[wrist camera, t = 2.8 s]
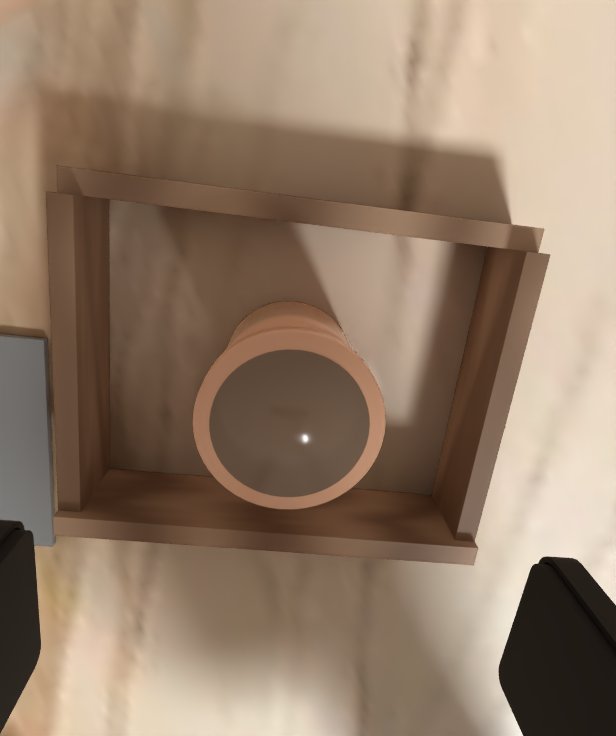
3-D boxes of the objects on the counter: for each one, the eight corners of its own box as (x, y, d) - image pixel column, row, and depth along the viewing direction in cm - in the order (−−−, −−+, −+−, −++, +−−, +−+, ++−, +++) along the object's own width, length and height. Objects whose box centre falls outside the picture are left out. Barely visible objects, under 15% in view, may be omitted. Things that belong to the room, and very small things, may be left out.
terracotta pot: (365, 303, 24) (401, 344, 17) (345, 430, 26) (370, 517, 19) (225, 287, 24) (197, 322, 16) (215, 418, 26) (187, 503, 18)
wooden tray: (512, 226, 23) (563, 230, 19) (445, 511, 28) (473, 565, 24) (86, 171, 22) (38, 161, 18) (91, 483, 27) (54, 535, 22)
